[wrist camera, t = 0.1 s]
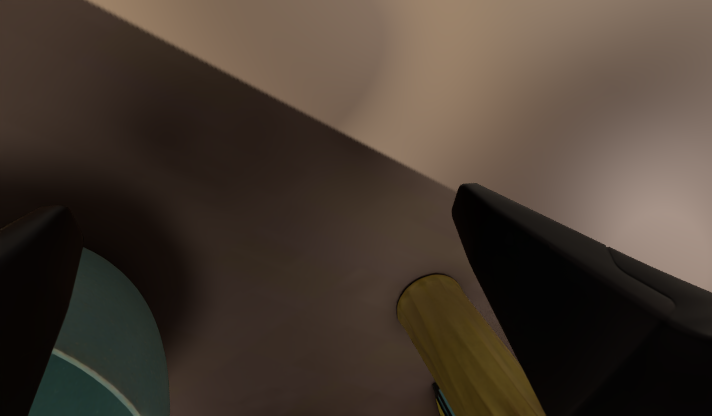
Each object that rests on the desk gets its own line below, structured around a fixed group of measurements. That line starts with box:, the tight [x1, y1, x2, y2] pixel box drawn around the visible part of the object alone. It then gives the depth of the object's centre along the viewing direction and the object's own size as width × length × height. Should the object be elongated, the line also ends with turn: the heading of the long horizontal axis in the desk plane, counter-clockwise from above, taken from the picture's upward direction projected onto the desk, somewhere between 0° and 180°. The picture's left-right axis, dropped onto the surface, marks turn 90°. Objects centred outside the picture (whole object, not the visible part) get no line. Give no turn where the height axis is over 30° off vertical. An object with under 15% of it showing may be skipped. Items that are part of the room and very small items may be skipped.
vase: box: [397, 275, 546, 416], centre depth 25 cm, size 6×6×14 cm
